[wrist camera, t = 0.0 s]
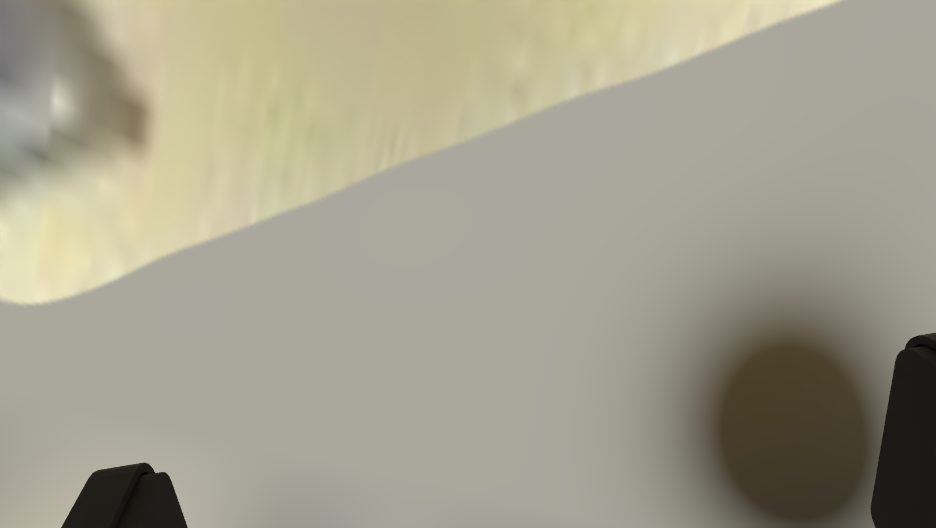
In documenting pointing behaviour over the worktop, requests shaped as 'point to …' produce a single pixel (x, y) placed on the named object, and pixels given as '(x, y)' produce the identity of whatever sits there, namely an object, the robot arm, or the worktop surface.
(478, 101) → the worktop surface
